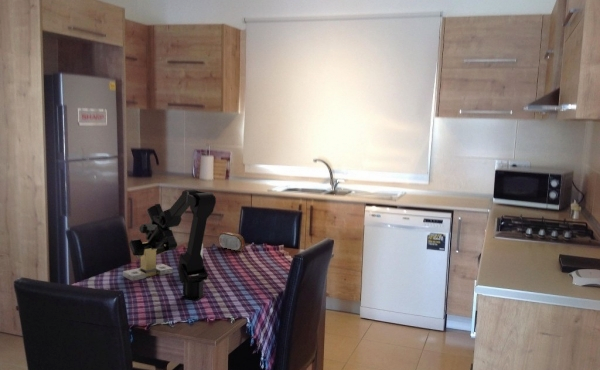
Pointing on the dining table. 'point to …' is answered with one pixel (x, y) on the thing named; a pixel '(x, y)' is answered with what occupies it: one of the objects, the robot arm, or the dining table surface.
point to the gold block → (148, 262)
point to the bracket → (137, 274)
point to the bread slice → (231, 241)
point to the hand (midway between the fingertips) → (146, 255)
